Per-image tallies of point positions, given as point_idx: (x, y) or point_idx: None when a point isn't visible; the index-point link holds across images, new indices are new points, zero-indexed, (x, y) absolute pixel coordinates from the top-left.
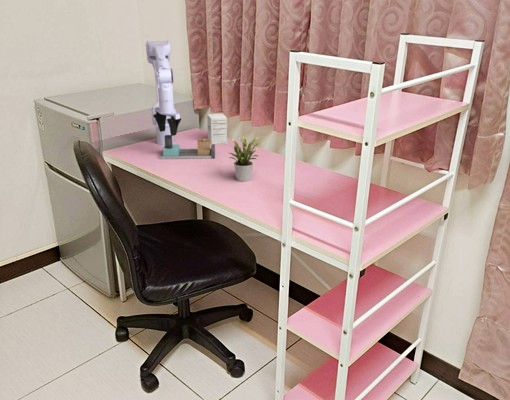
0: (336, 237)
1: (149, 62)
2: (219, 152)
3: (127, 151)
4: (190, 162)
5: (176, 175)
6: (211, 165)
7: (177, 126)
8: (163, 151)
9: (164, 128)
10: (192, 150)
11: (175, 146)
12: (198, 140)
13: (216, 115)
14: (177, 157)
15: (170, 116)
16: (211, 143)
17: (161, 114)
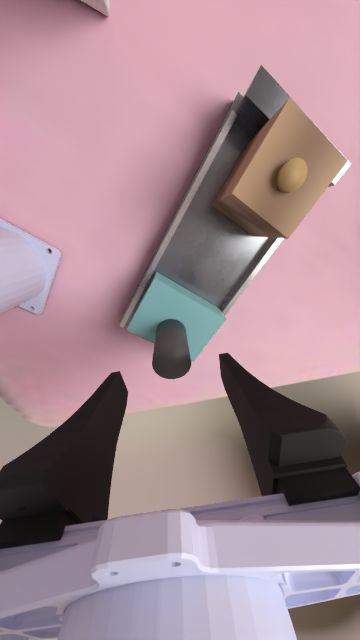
0: None
1: None
2: (242, 64)
3: (57, 390)
4: (258, 279)
5: (311, 356)
6: (339, 227)
7: (261, 387)
8: (193, 358)
9: (116, 384)
10: (180, 219)
11: (171, 305)
12: (260, 208)
13: None
14: (223, 314)
15: (249, 511)
16: (102, 1)
17: (79, 518)
